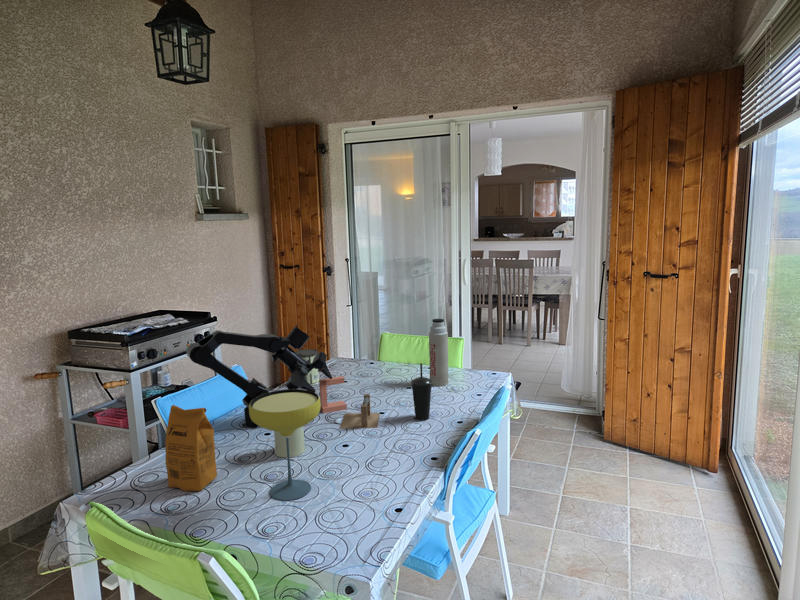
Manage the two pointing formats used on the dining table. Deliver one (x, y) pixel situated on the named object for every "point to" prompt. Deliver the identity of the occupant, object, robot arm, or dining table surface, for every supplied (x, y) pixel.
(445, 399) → the dining table surface
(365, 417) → the stand
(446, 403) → the dining table surface
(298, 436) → the can
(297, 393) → the cocktail glass
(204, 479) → the coffee package
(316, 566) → the dining table surface
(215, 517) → the dining table surface
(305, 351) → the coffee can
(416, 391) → the drinking cup
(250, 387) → the robot arm
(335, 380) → the c link
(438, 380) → the thermos bottle
